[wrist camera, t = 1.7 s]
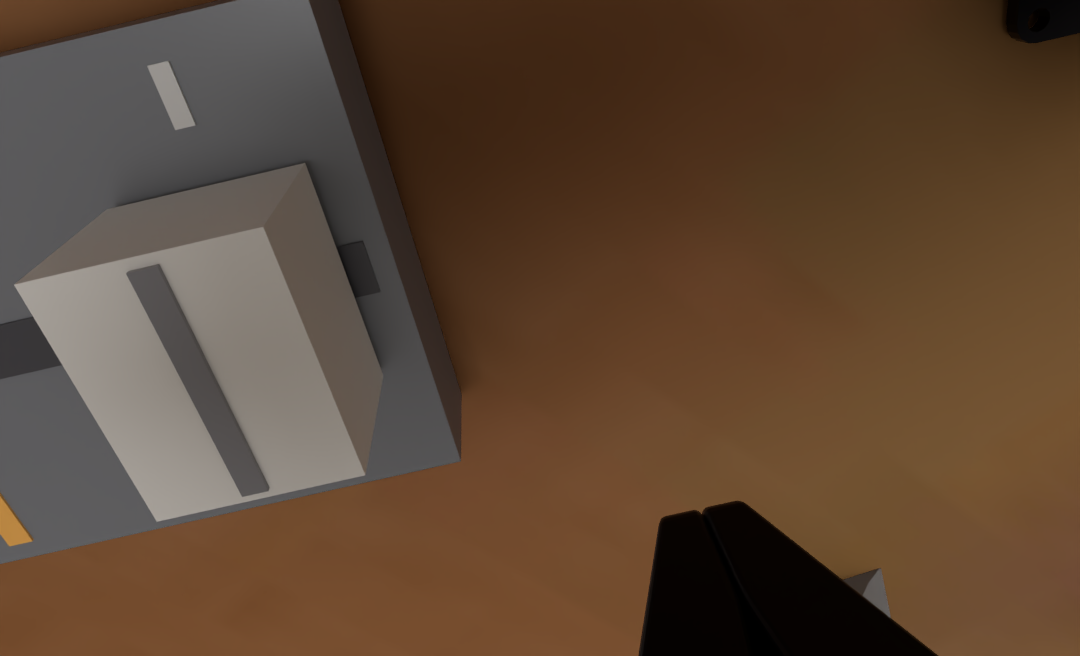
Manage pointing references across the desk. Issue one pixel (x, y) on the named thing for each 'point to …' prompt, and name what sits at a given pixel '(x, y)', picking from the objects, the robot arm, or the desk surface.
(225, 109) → the fader console
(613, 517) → the desk surface
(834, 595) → the robot arm
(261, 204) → the fader knob
